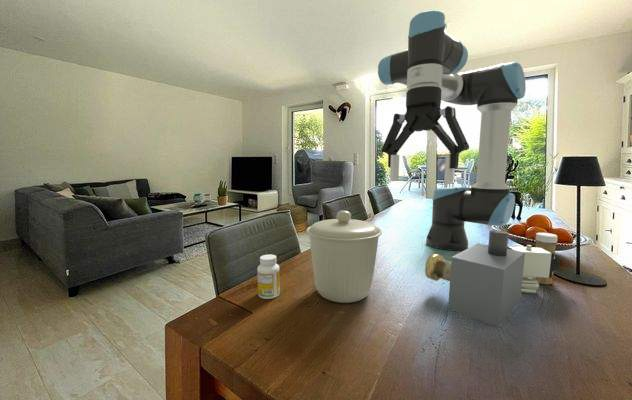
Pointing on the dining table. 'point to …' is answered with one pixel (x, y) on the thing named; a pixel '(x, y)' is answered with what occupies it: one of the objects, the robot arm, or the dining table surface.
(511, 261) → the block
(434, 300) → the dining table surface
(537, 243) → the sprinkles bottle
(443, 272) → the knob
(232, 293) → the dining table surface
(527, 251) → the pneumatic valve
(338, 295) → the canister
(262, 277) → the supplement bottle
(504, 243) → the grey upright block
